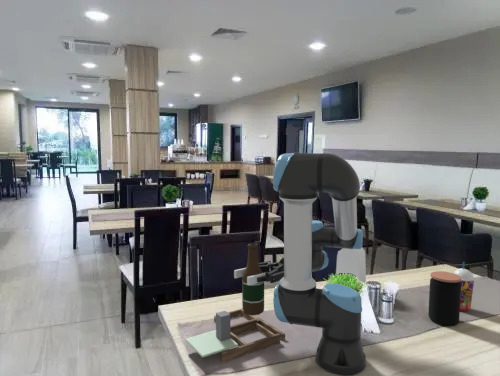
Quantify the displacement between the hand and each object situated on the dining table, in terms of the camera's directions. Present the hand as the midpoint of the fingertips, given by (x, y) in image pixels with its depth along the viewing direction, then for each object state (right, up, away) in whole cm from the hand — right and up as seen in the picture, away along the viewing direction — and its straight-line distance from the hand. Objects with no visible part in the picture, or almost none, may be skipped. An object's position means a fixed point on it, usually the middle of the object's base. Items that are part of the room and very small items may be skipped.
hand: (241, 277), depth 129 cm
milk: (+50, -18, +51) cm, 74 cm away
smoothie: (+91, -20, +30) cm, 98 cm away
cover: (-10, -20, -5) cm, 23 cm away
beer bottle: (+4, -13, +4) cm, 14 cm away
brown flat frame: (-2, -22, +7) cm, 23 cm away
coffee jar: (+78, -21, +19) cm, 83 cm away
